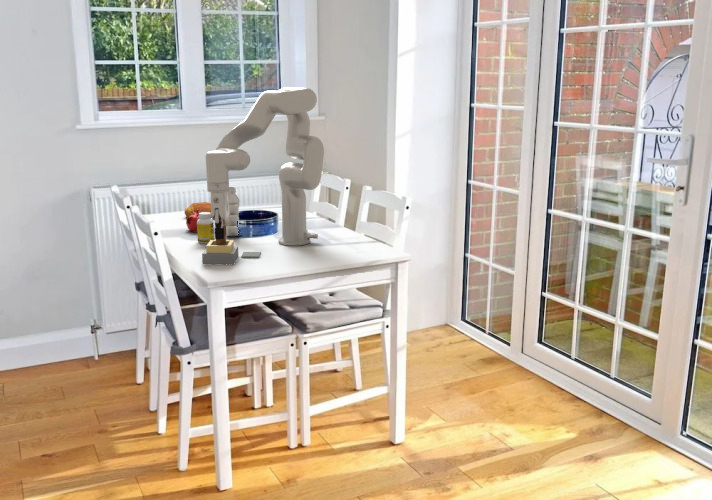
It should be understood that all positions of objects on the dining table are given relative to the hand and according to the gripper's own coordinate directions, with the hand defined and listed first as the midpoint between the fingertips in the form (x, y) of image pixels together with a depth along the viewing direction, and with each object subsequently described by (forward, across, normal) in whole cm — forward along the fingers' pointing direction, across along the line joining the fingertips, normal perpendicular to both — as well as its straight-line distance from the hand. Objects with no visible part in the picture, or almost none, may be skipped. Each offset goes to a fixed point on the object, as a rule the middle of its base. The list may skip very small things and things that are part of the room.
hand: (220, 236), depth 252 cm
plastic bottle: (+9, +37, +2) cm, 38 cm away
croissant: (+10, +73, +21) cm, 77 cm away
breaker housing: (+9, 0, 0) cm, 9 cm away
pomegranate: (+9, +47, +18) cm, 51 cm away
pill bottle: (+9, +27, +11) cm, 31 cm away
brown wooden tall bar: (+3, 0, 0) cm, 3 cm away
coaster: (+9, +7, -10) cm, 15 cm away
